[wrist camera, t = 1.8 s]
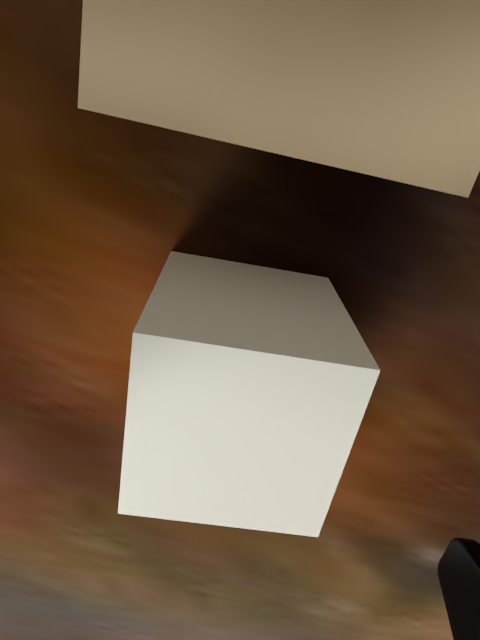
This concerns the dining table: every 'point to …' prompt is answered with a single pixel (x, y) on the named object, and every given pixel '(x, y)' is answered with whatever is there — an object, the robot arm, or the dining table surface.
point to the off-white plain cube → (241, 397)
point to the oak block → (299, 79)
